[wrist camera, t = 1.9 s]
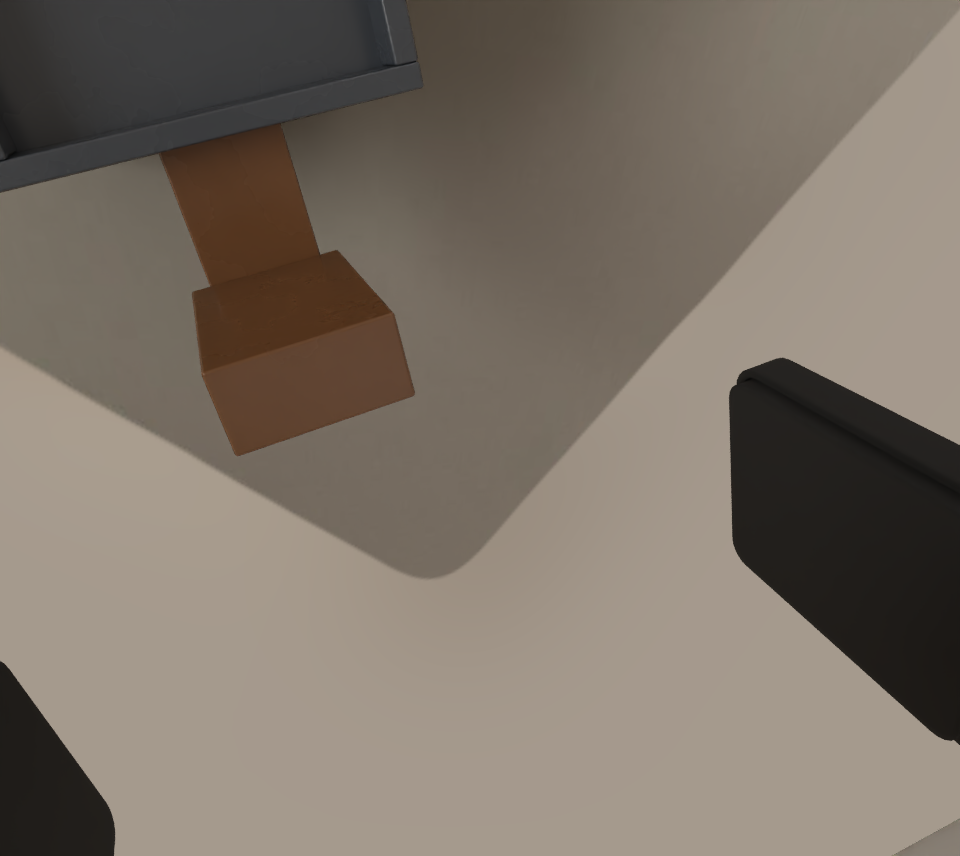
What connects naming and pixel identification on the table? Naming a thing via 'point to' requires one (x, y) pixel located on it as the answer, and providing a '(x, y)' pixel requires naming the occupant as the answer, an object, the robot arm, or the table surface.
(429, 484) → the table surface
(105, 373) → the table surface
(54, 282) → the table surface
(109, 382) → the table surface
